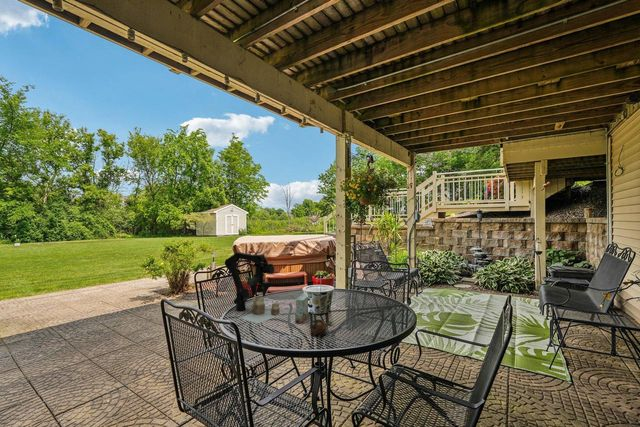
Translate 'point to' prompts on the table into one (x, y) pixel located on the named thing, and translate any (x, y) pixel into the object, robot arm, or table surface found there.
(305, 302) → the snack box
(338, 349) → the table surface
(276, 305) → the tower
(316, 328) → the decorative turtle
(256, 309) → the walnut block
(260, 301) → the maple block
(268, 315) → the board
